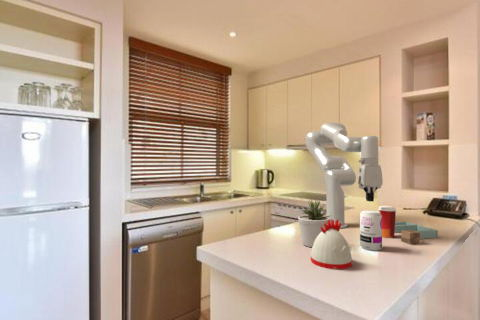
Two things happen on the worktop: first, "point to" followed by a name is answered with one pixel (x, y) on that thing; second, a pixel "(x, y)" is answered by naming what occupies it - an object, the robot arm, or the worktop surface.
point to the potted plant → (312, 223)
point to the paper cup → (388, 221)
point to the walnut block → (410, 237)
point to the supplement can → (370, 230)
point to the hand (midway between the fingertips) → (369, 201)
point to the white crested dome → (331, 248)
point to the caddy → (416, 229)
